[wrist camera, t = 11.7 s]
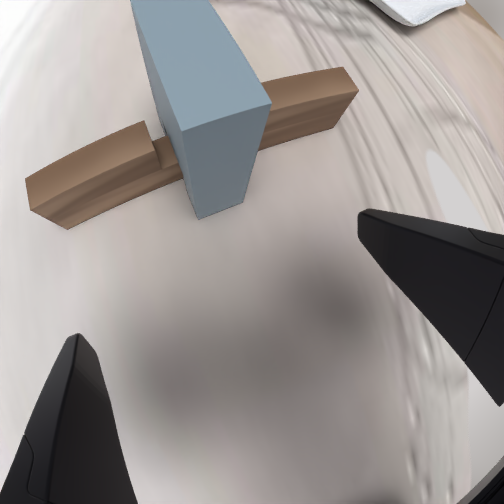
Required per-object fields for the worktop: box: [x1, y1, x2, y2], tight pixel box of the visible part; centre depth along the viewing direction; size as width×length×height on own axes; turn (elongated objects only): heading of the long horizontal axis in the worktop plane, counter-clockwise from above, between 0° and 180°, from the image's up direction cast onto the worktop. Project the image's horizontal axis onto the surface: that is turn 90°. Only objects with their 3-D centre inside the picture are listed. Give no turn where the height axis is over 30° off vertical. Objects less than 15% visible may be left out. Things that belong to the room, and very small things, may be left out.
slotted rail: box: [25, 67, 359, 230], centre depth 18 cm, size 2×20×5 cm, turn 114°
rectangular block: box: [130, 0, 272, 220], centre depth 15 cm, size 8×3×11 cm, turn 23°
